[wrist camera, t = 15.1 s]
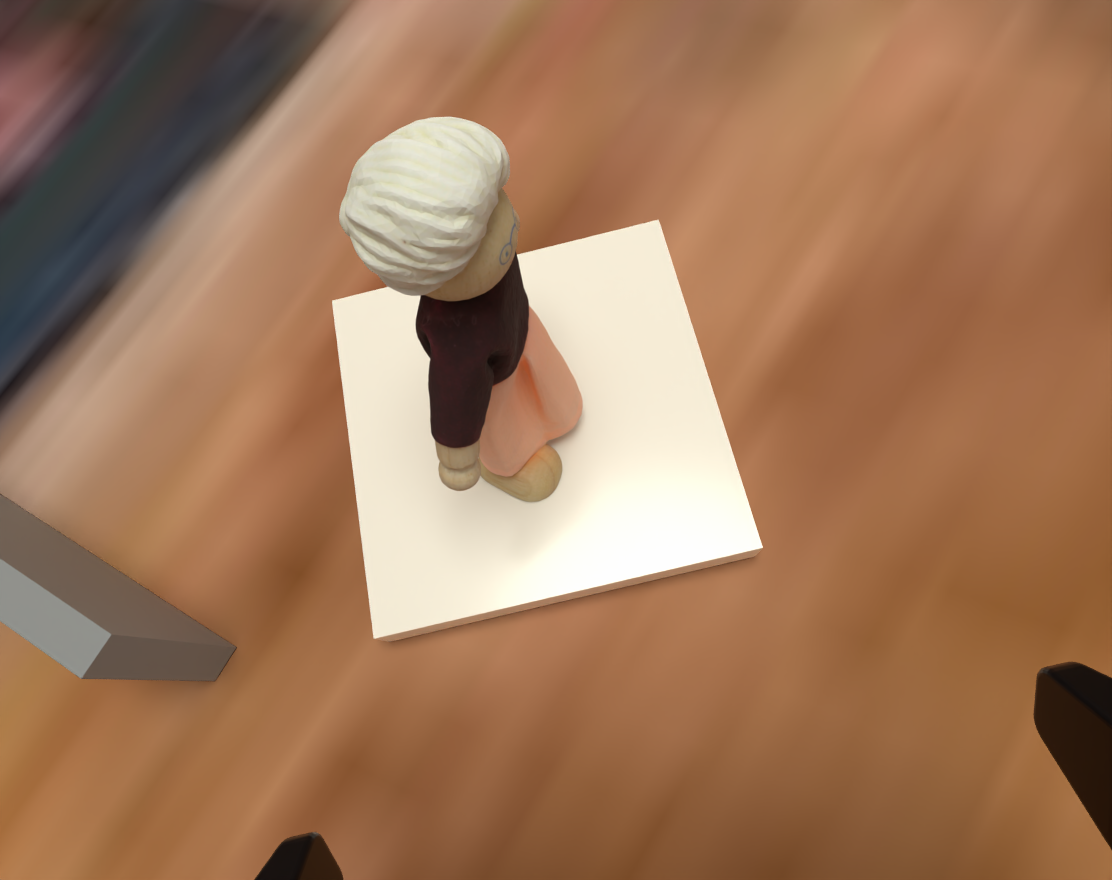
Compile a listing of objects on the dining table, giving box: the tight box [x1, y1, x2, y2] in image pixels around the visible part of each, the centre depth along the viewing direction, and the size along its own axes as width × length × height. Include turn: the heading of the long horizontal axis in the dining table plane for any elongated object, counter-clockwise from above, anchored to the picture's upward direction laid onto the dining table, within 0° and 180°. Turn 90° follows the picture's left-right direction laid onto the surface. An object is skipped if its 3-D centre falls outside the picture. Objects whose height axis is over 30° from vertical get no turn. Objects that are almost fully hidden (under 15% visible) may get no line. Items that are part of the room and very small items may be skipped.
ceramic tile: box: [332, 220, 763, 642], centre depth 24 cm, size 12×12×2 cm
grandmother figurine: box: [339, 117, 583, 502], centre depth 18 cm, size 8×4×13 cm, turn 4°
